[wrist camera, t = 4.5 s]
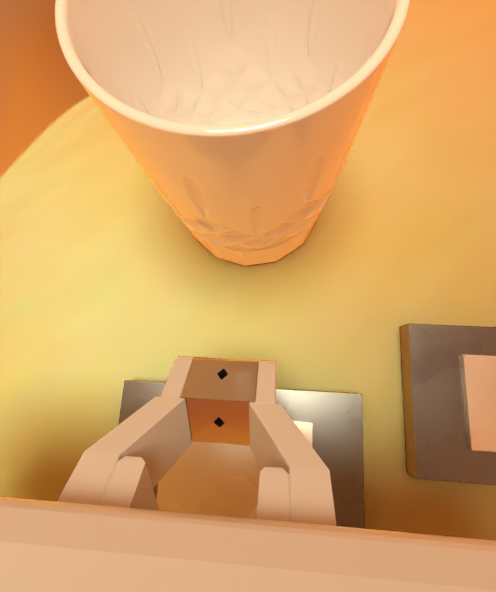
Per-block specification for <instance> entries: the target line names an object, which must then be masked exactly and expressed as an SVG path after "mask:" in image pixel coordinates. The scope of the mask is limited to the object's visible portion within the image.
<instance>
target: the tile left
mask: <svg viewBox="0 0 496 592" xmlns="http://www.w3.org/2000/svg"><path fill="white" fill-rule="evenodd" d="M165 384H166V382H156V381H139V380H126V381H124V388H123V395H122V403H121V410H120V418H119V424H120V423H122V422H123V421H124V420H126V419H127V418H128V417H130V416H131V415H132V414H133V413H135V412H136V411H137V410H139V409H140V408H141V407H143V406H144V405H145V404H147V403H148V402H149V401H150V400H152V399H153V398H154V397H161V394H162V392H163V389H164V387H165ZM275 404H281V406H282V407H283V408H284V410H285V411H286V412H287V414H288V415H289V416H290V418H291V419H292V420H293V422H294V423H295V425H296V426H297V427H298V429H299V430H300V431H301V433H302V434H303V435H304V437H305V438H306V439H307V441H308V442H309V443H310V445H311V446H312V447H313V449H314V450H315V452H316V453H317V454H318V456H319V457H320V458H321V460H322V461H323V462H324V464H325V465H326V466H327V468H328V469H329V470H330V478H331V486H332V494H333V502H334V510H335V518H336V526H341V527H353V528H364V529H365V517H364V471H363V425H362V394H358V393H345V392H328V391H311V390H294V389H277V388H276V399H275ZM260 471H261V469H260V467H259V465H258V463H257V461H256V459H255V457H254V455H253V453H252V451H251V449H250V446H247V445H237V444H227V443H211V442H192V444H191V445H190V446H189V448H188V449H187V450H186V451H185V452H184V453H183V455H182V456H181V457H180V458H179V459H178V460H177V461H176V463H175V464H174V465H173V466H172V467H171V468H170V470H169V471H168V472H167V473H166V474H165V475H164V476H163V478H162V479H161V480H160V481H159V482H158V483H157V485H156V486H155V487H154V488H153V491H154V494H155V498H156V501H157V505H158V508H159V511H171V512H182V513H194V514H205V515H217V516H228V517H239V518H251V519H257V505H258V492H259V478H260Z"/></svg>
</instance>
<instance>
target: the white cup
mask: <svg viewBox="0 0 496 592" xmlns="http://www.w3.org/2000/svg"><path fill="white" fill-rule="evenodd" d="M409 3H410V0H56V2H55V23H56V31H57V35H58V39H59V43H60V46H61V49H62V52H63V54H64V57H65V59H66V61H67V63H68V64H69V66H70V68H71V70H72V71H73V73H74V74H75V76H76V77H77V79H78V80H79V81H80V83H81V84H82V85H83V87H84V88H85V90H86V91H87V92H88V94H89V95H90V96H91V98H92V99H93V101H94V102H95V103H96V105H97V106H98V108H99V109H100V110H101V112H102V113H103V115H104V116H105V117H106V119H107V120H108V121H109V123H110V124H111V126H112V127H113V128H114V130H115V131H116V133H117V134H118V135H119V137H120V138H121V140H122V141H123V142H124V144H125V145H126V147H127V148H128V149H129V151H130V152H131V154H132V155H133V156H134V158H135V159H136V161H137V162H138V163H139V165H140V166H141V168H142V169H143V171H144V172H145V173H146V175H147V176H148V178H149V179H150V180H151V182H152V183H153V185H154V186H155V187H156V189H157V190H158V191H159V193H160V194H161V195H162V197H163V198H164V199H165V200H166V202H167V203H168V204H169V205H170V207H171V208H172V210H173V211H174V212H175V213H176V215H177V216H178V217H179V218H180V220H181V221H182V222H183V223H184V224H185V225H186V226H187V227H188V228H189V230H190V231H191V233H192V234H193V236H194V237H195V238H196V239H197V240H198V241H199V242H200V243H201V244H202V245H203V246H204V247H206V248H207V249H208V250H209V251H210V252H211V253H212V254H213V255H214V256H215V257H217V258H220V259H224V260H227V261H231V262H234V263H237V264H241V265H244V266H248V265H255V264H262V263H268V262H275V261H278V260H279V259H281V258H282V257H284V256H285V255H287V254H288V253H290V252H292V251H293V250H295V249H296V248H298V247H299V246H301V245H302V244H303V243H304V241H305V239H306V238H307V236H308V234H309V233H310V231H311V229H312V228H313V226H314V224H315V223H316V221H317V219H318V217H319V214H320V212H321V210H322V209H323V208H324V206H325V204H326V202H327V200H328V198H329V196H330V193H331V191H332V189H333V187H334V185H335V183H336V181H337V179H338V177H339V175H340V172H341V170H342V168H343V166H344V163H345V161H346V159H347V156H348V154H349V152H350V149H351V147H352V144H353V142H354V140H355V137H356V135H357V132H358V130H359V128H360V125H361V123H362V120H363V118H364V116H365V113H366V111H367V109H368V106H369V104H370V101H371V99H372V97H373V94H374V92H375V90H376V87H377V85H378V83H379V80H380V78H381V76H382V73H383V71H384V69H385V66H386V64H387V62H388V59H389V57H390V55H391V53H392V50H393V48H394V46H395V43H396V41H397V39H398V36H399V34H400V32H401V29H402V27H403V24H404V22H405V19H406V15H407V12H408V8H409Z"/></svg>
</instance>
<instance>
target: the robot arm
mask: <svg viewBox="0 0 496 592" xmlns="http://www.w3.org/2000/svg"><path fill="white" fill-rule="evenodd" d="M275 399H276V361H268V360H239V359H219V358H205V357H187V356H178V357H177V358H176V359H175V361H174V364H173V366H172V369H171V371H170V374H169V376H168V379H167V381H166V384H165V387H164V389H163V392H162V394H161V397H154V398H153V399H152V400H150V401H149V402H148V403H147V404H145V405H144V406H143V407H141V408H140V409H139V410H137V411H136V412H135V413H133V414H132V415H131V416H130V417H128V418H127V419H126V420H124V421H123V422H122V423H120V424H119V425H118V426H116V427H115V428H114V429H113V430H111V431H110V432H109V433H107V434H106V435H105V436H103V437H102V438H101V439H100V440H98V441H97V442H96V443H94V444H93V445H92V446H90V447H89V448H88V449H86V450H85V451H84V452H83V454H82V456H81V458H80V460H79V462H78V463H77V465H76V467H75V469H74V471H73V473H72V474H71V476H70V478H69V480H68V482H67V484H66V485H65V487H64V489H63V491H62V493H61V494H60V496H59V498H58V500H57V501H45V500H34V499H23V498H11V497H0V592H496V540H489V539H478V538H466V537H455V536H444V535H432V534H421V533H410V532H398V531H387V530H375V529H364V528H353V527H341V526H336V518H335V510H334V502H333V494H332V486H331V478H330V470H329V469H328V468H327V466H326V465H325V464H324V462H323V461H322V460H321V458H320V457H319V456H318V454H317V453H316V452H315V450H314V449H313V447H312V446H311V445H310V443H309V442H308V441H307V439H306V438H305V437H304V435H303V434H302V433H301V431H300V430H299V429H298V427H297V426H296V425H295V423H294V422H293V420H292V419H291V418H290V416H289V415H288V414H287V412H286V411H285V410H284V408H283V407H282V406H281V404H275ZM192 442H211V443H227V444H237V445H247V446H250V449H251V451H252V453H253V455H254V457H255V459H256V461H257V463H258V465H259V467H260V469H261V471H260V478H259V492H258V505H257V519H251V518H239V517H228V516H217V515H205V514H194V513H182V512H171V511H159V508H158V505H157V501H156V498H155V494H154V491H153V488H154V487H155V486H156V485H157V483H158V482H159V481H160V480H161V479H162V478H163V476H164V475H165V474H166V473H167V472H168V471H169V470H170V468H171V467H172V466H173V465H174V464H175V463H176V461H177V460H178V459H179V458H180V457H181V456H182V455H183V453H184V452H185V451H186V450H187V449H188V448H189V446H190V445H191V444H192Z"/></svg>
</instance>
